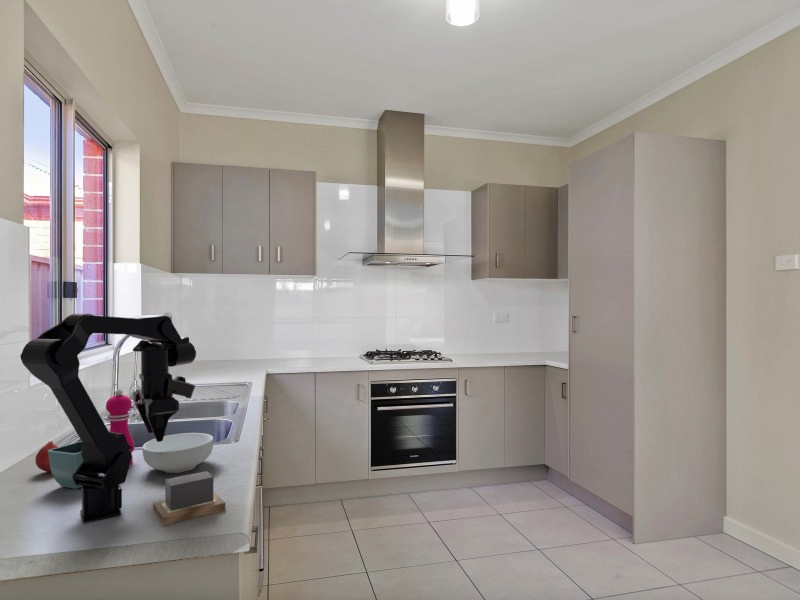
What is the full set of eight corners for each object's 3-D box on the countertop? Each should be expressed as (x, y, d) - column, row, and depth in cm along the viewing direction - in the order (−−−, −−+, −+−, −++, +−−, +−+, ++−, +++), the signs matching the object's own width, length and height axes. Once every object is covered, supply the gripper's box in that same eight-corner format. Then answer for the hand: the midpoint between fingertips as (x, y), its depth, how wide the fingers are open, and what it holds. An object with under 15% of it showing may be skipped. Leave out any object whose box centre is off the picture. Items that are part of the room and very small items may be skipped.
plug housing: (170, 510, 102) (170, 486, 102) (165, 503, 105) (165, 479, 105) (213, 500, 107) (213, 476, 107) (207, 494, 110) (206, 471, 110)
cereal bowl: (183, 454, 143) (182, 429, 143) (227, 462, 136) (227, 436, 136) (127, 473, 128) (127, 445, 128) (174, 484, 121) (174, 454, 121)
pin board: (163, 525, 99) (163, 517, 99) (153, 510, 106) (153, 502, 106) (225, 509, 106) (225, 502, 106) (211, 496, 113) (211, 489, 113)
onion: (37, 478, 125) (36, 445, 124) (34, 472, 129) (33, 440, 129) (65, 472, 128) (65, 441, 128) (61, 467, 133) (61, 436, 133)
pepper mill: (127, 458, 140) (127, 385, 139) (139, 464, 135) (139, 388, 135) (98, 465, 134) (98, 389, 134) (110, 471, 129) (109, 392, 129)
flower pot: (81, 476, 126) (81, 440, 126) (108, 480, 123) (108, 443, 123) (46, 488, 118) (46, 450, 118) (74, 493, 115) (74, 454, 115)
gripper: (202, 371, 115) (203, 440, 115) (181, 362, 130) (181, 423, 130) (148, 375, 108) (149, 449, 108) (132, 366, 123) (133, 430, 123)
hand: (155, 436), depth 118 cm, fingers open, 9 cm apart
